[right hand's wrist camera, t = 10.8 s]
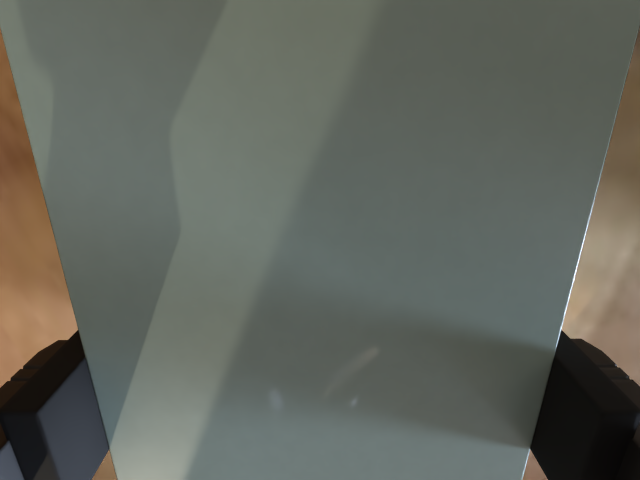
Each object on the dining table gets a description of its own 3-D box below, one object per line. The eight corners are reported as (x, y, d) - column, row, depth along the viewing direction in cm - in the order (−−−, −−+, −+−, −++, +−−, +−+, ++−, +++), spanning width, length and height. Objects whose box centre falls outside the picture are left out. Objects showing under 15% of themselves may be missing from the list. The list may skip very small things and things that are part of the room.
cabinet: (149, -265, 12) (-339, -1270, 3) (491, -266, 12) (977, -1270, 3) (215, 328, 19) (128, 526, 11) (424, 328, 19) (510, 527, 11)
